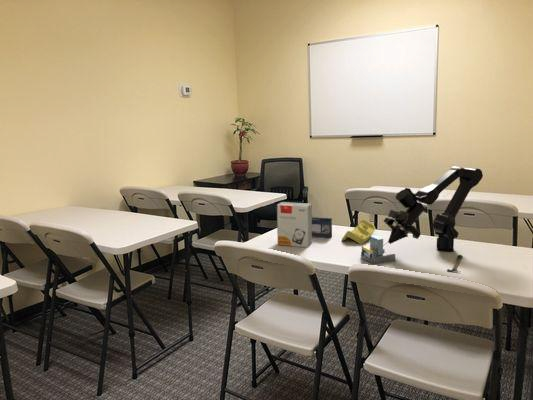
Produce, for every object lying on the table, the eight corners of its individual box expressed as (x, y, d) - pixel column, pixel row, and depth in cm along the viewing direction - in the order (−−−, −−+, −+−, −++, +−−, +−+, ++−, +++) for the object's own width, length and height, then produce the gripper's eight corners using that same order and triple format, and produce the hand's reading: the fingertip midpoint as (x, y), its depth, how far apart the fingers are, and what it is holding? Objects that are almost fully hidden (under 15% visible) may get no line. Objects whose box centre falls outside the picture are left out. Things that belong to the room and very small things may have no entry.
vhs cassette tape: (296, 236, 213) (295, 217, 211) (297, 234, 215) (297, 216, 214) (331, 238, 206) (331, 219, 205) (332, 236, 209) (332, 217, 207)
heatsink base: (383, 254, 178) (383, 243, 178) (395, 260, 170) (395, 248, 169) (360, 257, 175) (360, 246, 174) (372, 264, 167) (372, 252, 166)
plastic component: (364, 240, 194) (346, 229, 198) (357, 252, 197) (340, 241, 201) (378, 227, 209) (361, 217, 213) (372, 239, 213) (355, 229, 217)
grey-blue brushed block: (374, 253, 175) (375, 235, 174) (382, 257, 170) (383, 238, 168) (363, 254, 174) (363, 236, 172) (370, 259, 168) (371, 240, 167)
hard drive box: (277, 245, 198) (275, 204, 194) (282, 240, 205) (281, 201, 201) (308, 247, 192) (307, 206, 188) (312, 243, 199) (312, 203, 195)
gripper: (387, 199, 180) (365, 226, 179) (414, 206, 163) (390, 237, 162) (402, 214, 184) (381, 241, 183) (430, 223, 166) (407, 253, 165)
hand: (389, 243), depth 173 cm, fingers closed
